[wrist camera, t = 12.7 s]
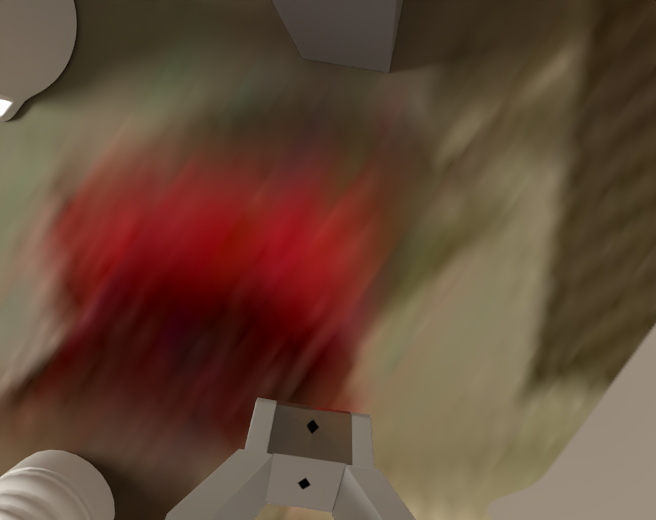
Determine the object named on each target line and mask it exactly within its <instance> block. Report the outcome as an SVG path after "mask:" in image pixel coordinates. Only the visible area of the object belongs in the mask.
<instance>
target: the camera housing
mask: <svg viewBox="0 0 656 520" xmlns="http://www.w3.org/2000/svg"><path fill="white" fill-rule="evenodd" d="M271 1H272V3H273V4H274V6H275V8H276V10H277V12H278V14H279V16H280V18H281V19H282V21H283V23H284V25H285V27H286V29H287V31H288V33H289V34H290V36H291V38H292V40H293V42H294V44H295V46H296V47H297V49H298V51H299V53H300V55H301V57H302V59H306V60H312V61H319V62H325V63H331V64H337V65H343V66H349V67H355V68H361V69H367V70H374V71H380V72H386V73H389V71H390V66H391V61H392V56H393V51H394V46H395V41H396V35H397V30H398V25H399V20H400V15H401V10H402V5H403V0H271Z"/></svg>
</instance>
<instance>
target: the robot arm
mask: <svg viewBox="0 0 656 520" xmlns="http://www.w3.org/2000/svg"><path fill="white" fill-rule="evenodd" d="M76 29H77V19H76V10H75V4H74V0H0V121H8V120H9V119H11V118H12V117H13V116H14V115H15V114H16V112H17V111H18V110H19V108H20V107H21V106H22V104H23V103H24V101H26V100H27V99H28V98H30V97H32V96H34V95H35V94H37V93H39V92H41V91H43V90H44V89H46V88H47V87H48V86H50V85H51V84H52V83H53V82H54V81H55V80H56V79H57V78H58V77H59V76H60V74H61V73H62V72H63V70H64V69H65V67H66V65H67V63H68V61H69V59H70V57H71V54H72V51H73V48H74V44H75V39H76ZM275 408H276V409H275ZM265 503H267V504H276V505H285V506H294V507H301V508H307V509H313V510H319V511H325V512H331V513H332V516H333V518H334V520H416V519H415V518H414V516H413V515H412V514H411V512H410V511H409V509H408V508H407V507H406V505H405V504H404V502H403V501H402V500H401V498H400V497H399V495H398V494H397V493H396V491H395V490H394V488H393V487H392V486H391V484H390V483H389V482H388V480H387V479H386V477H385V476H384V475H383V473H382V472H381V470H378V469H374V455H373V441H372V427H371V417H370V415H368V414H361V413H354V412H351V413H350V412H347V411H340V410H333V409H326V408H319V407H310V406H304V405H299V404H293V403H287V402H282V401H277V404H276V401H274V400H268V399H263V398H257V401H256V404H255V408H254V412H253V416H252V420H251V425H250V429H249V433H248V437H247V441H246V446H245V450H242V449H238V450H237V451H236V452H235V453H234V454H233V455H232V456H231V457H229V458H228V459H227V460H226V461H225V462H224V463H223V464H222V465H221V466H219V467H218V468H217V469H216V470H215V471H214V472H213V473H212V474H211V475H209V476H208V477H207V478H206V479H205V480H204V481H203V482H202V483H201V484H200V485H198V486H197V487H196V488H195V489H194V490H193V491H192V492H191V493H190V494H188V495H187V496H186V497H185V498H184V499H183V500H182V501H181V502H180V503H178V504H177V505H176V506H175V507H174V508H173V509H172V510H171V511H170V512H168V513H167V515H166V518H165V520H254V519H255V517H256V516H257V515H258V514H259V512H260V511H261V510H262V509H263V507H264V506H265Z"/></svg>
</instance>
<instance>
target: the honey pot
mask: <svg viewBox="0 0 656 520" xmlns="http://www.w3.org/2000/svg"><path fill="white" fill-rule="evenodd" d="M114 516H115V508H114V499H113V496H112V493H111V490H110V487H109V485H108V484H107V482H106V481H105V479H104V477H103V476H102V474H101V473H100V472H99V471H98V470H97V469H96V468H95V467H94V466H93V465H92V464H91V463H89V462H87V461H86V460H84V459H83V458H81V457H79V456H78V455H75V454H72V453H69V452H66V451H58V450H47V451H42V452H37V453H35V454H33V455H31V456H29V457H27V458H25V459H24V460H23V461H21V462H20V463H19V464H17V465H16V466H15V467H13V468H12V469H11V470H9V471H8V472H7V473H5V474H4V475H3V476H1V477H0V520H114Z"/></svg>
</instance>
